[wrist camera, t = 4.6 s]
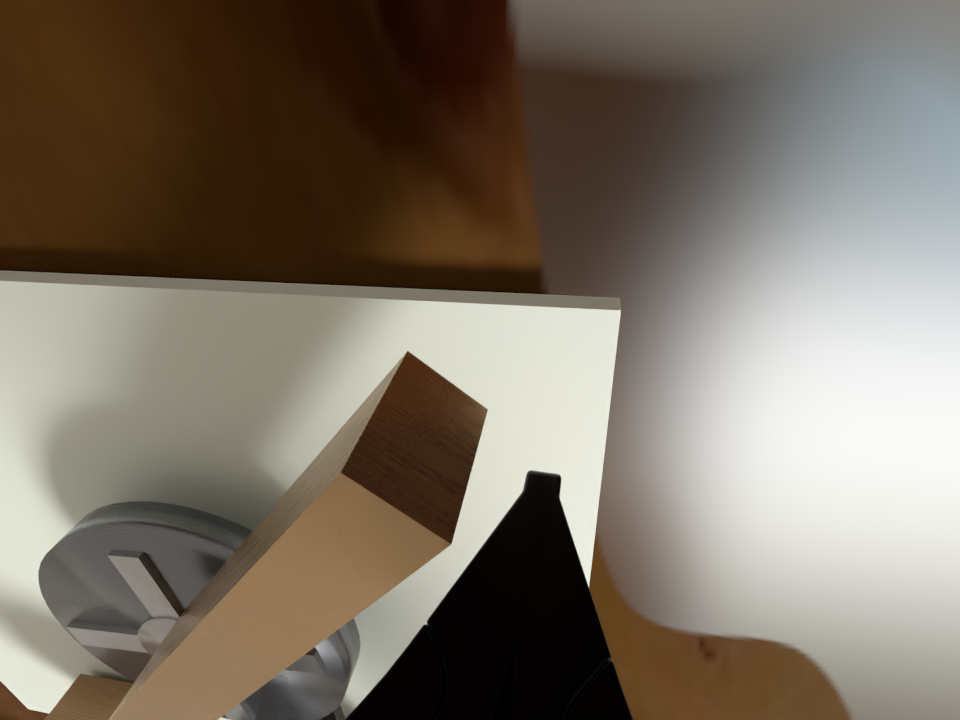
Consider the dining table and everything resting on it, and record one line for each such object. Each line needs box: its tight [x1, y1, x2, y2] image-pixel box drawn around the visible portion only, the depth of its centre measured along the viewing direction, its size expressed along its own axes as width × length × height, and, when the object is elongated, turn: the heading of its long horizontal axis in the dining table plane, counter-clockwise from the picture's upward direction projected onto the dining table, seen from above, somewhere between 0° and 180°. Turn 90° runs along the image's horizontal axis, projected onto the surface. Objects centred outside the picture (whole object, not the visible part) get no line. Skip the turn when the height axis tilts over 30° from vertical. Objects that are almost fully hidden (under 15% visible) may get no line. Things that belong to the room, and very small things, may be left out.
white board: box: [0, 270, 621, 720], centre depth 21 cm, size 30×27×2 cm
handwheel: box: [38, 351, 488, 720], centre depth 14 cm, size 16×16×4 cm
